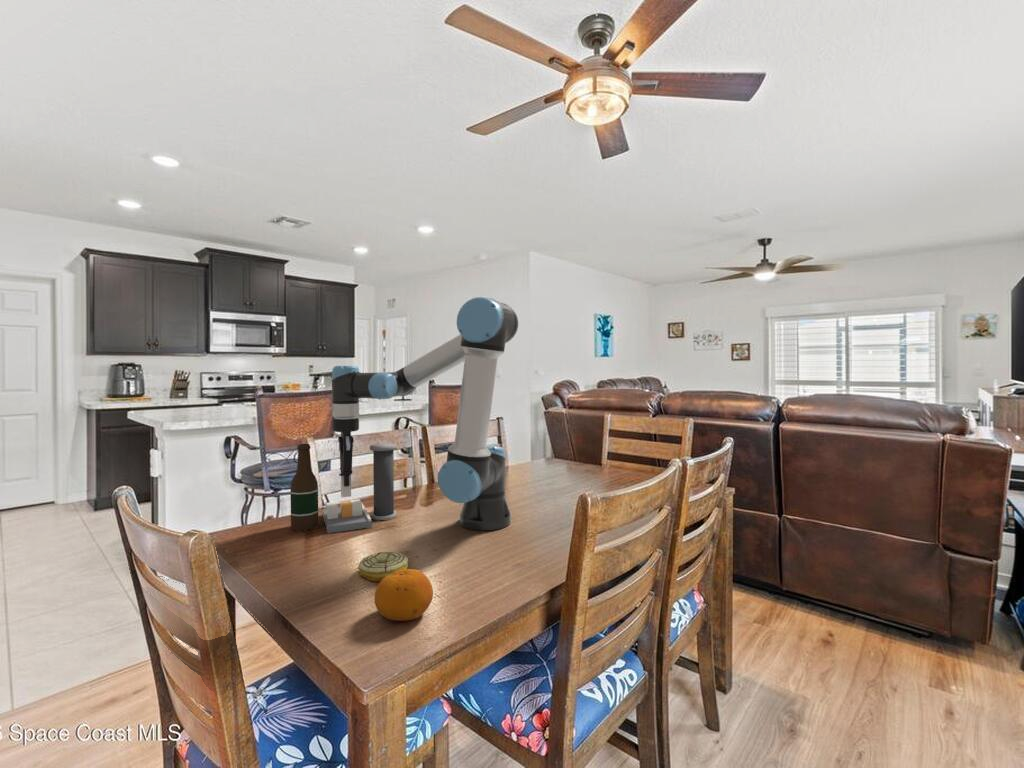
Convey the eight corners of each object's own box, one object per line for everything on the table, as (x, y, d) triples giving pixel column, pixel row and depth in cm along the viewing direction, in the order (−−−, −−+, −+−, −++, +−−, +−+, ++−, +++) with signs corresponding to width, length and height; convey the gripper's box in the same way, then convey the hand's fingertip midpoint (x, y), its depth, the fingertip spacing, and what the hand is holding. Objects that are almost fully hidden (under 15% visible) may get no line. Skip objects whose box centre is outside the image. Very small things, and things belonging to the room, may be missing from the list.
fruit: (393, 597, 97) (393, 558, 97) (441, 605, 94) (441, 565, 94) (363, 624, 87) (362, 581, 87) (415, 634, 84) (415, 589, 84)
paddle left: (337, 518, 141) (337, 506, 141) (327, 519, 140) (327, 507, 140) (336, 513, 145) (336, 501, 145) (326, 514, 144) (326, 502, 144)
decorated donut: (380, 561, 116) (380, 545, 116) (417, 569, 111) (417, 553, 111) (348, 578, 106) (348, 561, 106) (387, 588, 102) (387, 570, 102)
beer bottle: (285, 527, 138) (284, 444, 137) (311, 521, 144) (311, 441, 143) (296, 534, 133) (295, 447, 132) (324, 527, 139) (323, 444, 138)
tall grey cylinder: (399, 518, 147) (399, 446, 146) (372, 522, 144) (372, 448, 143) (394, 511, 154) (393, 442, 153) (368, 514, 151) (368, 444, 150)
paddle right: (362, 515, 144) (362, 503, 144) (352, 516, 143) (352, 504, 142) (359, 510, 148) (359, 499, 148) (350, 511, 147) (350, 500, 147)
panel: (371, 527, 139) (371, 518, 139) (327, 533, 134) (327, 524, 133) (362, 510, 155) (362, 502, 155) (322, 515, 150) (322, 506, 150)
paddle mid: (352, 516, 143) (352, 504, 142) (342, 517, 141) (342, 505, 141) (350, 511, 147) (350, 500, 147) (340, 512, 146) (340, 501, 146)
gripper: (330, 415, 147) (330, 492, 148) (334, 420, 136) (334, 503, 137) (355, 414, 151) (356, 489, 151) (361, 419, 139) (362, 500, 140)
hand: (346, 496), depth 144 cm, fingers closed
